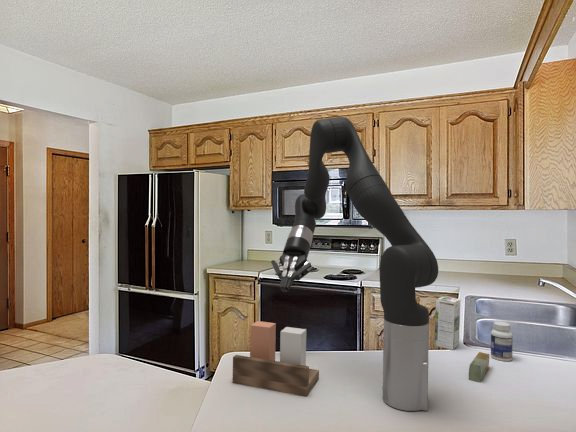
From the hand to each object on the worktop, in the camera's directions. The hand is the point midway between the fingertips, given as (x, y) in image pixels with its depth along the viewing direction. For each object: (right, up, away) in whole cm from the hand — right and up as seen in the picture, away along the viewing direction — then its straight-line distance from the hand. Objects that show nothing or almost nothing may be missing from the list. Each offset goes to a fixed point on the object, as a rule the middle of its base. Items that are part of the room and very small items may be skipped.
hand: (283, 290), depth 108 cm
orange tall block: (-5, -16, -13) cm, 21 cm away
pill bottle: (+61, -20, +1) cm, 64 cm away
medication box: (+50, -20, -10) cm, 54 cm away
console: (-2, -18, -16) cm, 24 cm away
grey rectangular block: (+2, -16, -17) cm, 24 cm away
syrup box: (+50, -19, +11) cm, 55 cm away
